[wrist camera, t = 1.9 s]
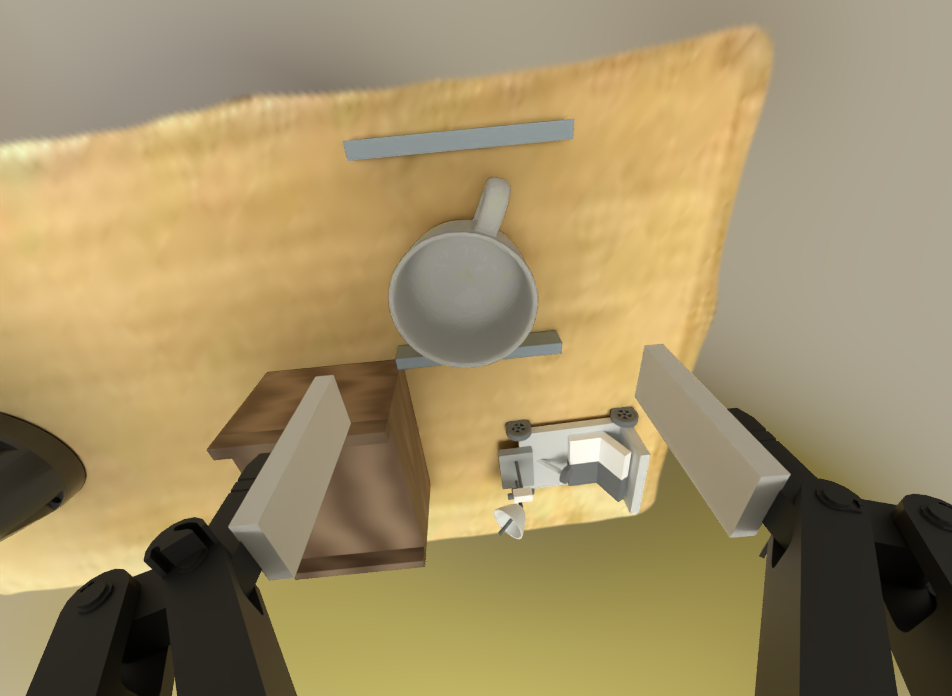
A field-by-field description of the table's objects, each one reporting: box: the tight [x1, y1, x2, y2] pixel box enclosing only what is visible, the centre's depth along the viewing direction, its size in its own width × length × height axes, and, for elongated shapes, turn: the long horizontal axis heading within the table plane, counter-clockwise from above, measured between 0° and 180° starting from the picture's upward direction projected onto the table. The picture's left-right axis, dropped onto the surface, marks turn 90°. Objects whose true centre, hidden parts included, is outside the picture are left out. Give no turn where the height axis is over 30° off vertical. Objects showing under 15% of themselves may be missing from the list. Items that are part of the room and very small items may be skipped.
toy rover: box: [494, 407, 650, 539], centre depth 41 cm, size 18×10×12 cm
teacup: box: [389, 177, 538, 368], centre depth 28 cm, size 14×11×8 cm
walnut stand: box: [207, 360, 430, 580], centre depth 37 cm, size 14×20×10 cm
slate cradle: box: [343, 119, 574, 370], centre depth 30 cm, size 16×19×2 cm
